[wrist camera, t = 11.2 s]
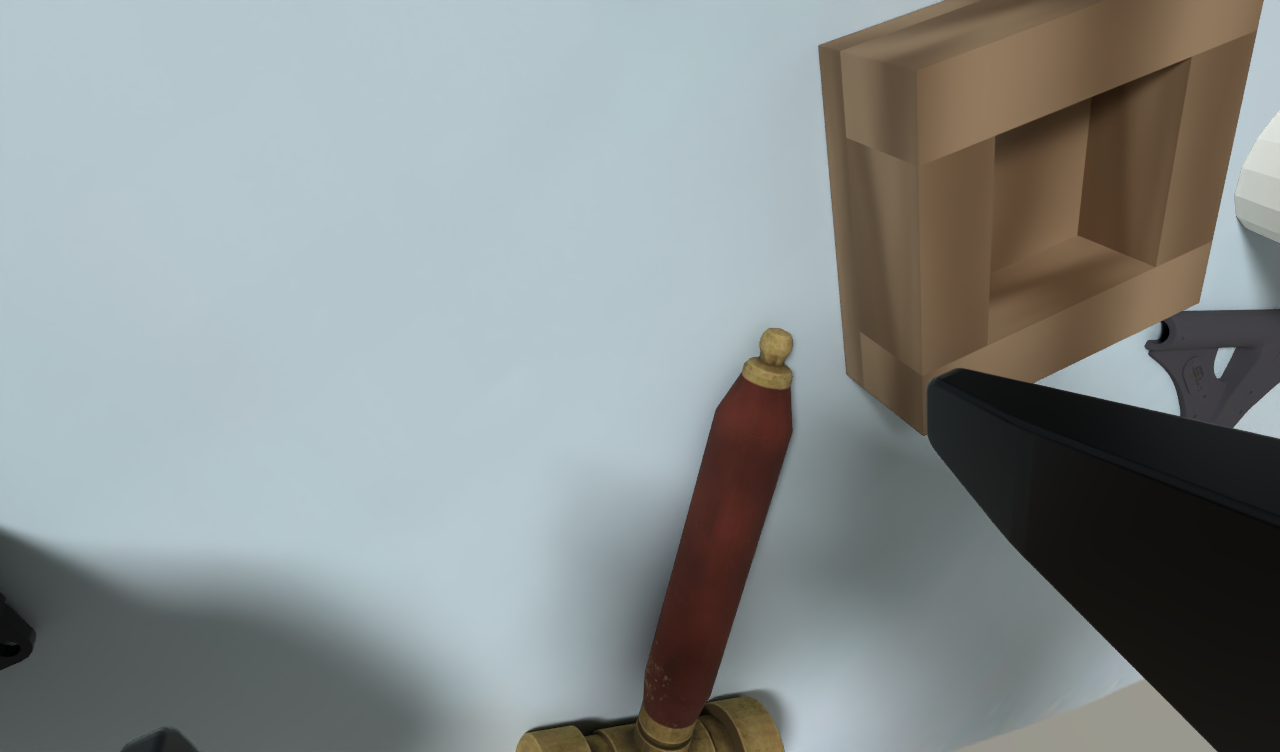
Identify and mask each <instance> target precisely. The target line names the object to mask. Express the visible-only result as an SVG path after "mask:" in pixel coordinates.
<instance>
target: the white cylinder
mask: <svg viewBox="0 0 1280 752" xmlns="http://www.w3.org/2000/svg"><path fill="white" fill-rule="evenodd" d="M1235 208H1236V217H1237V218H1238V219H1239V220H1240V222H1241V223H1242V224H1243V225H1244V227H1245V228H1246V229H1249V230H1251V231H1253V232H1255V233H1258V234H1260V235H1262V236H1264V237H1267V238H1269V239H1271V240H1273V241H1276V242H1278V243H1280V111H1279V112H1278V113H1277V114H1276V115H1275V116H1274V118H1273V119H1272V120H1271V121H1270V123H1269V124H1268V125H1267V126H1266V128H1265V129H1264V130H1263V132H1262V133H1261V134H1260V135H1259V137H1258V138H1257V139H1256V141H1255V143H1254V145H1253V147H1252V149H1251V151H1250V153H1249V155H1248V157H1247V159H1246V160H1245V162H1244V164H1243V166H1242V169H1241V172H1240V176H1239V180H1238V184H1237V188H1236V191H1235Z"/></svg>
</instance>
